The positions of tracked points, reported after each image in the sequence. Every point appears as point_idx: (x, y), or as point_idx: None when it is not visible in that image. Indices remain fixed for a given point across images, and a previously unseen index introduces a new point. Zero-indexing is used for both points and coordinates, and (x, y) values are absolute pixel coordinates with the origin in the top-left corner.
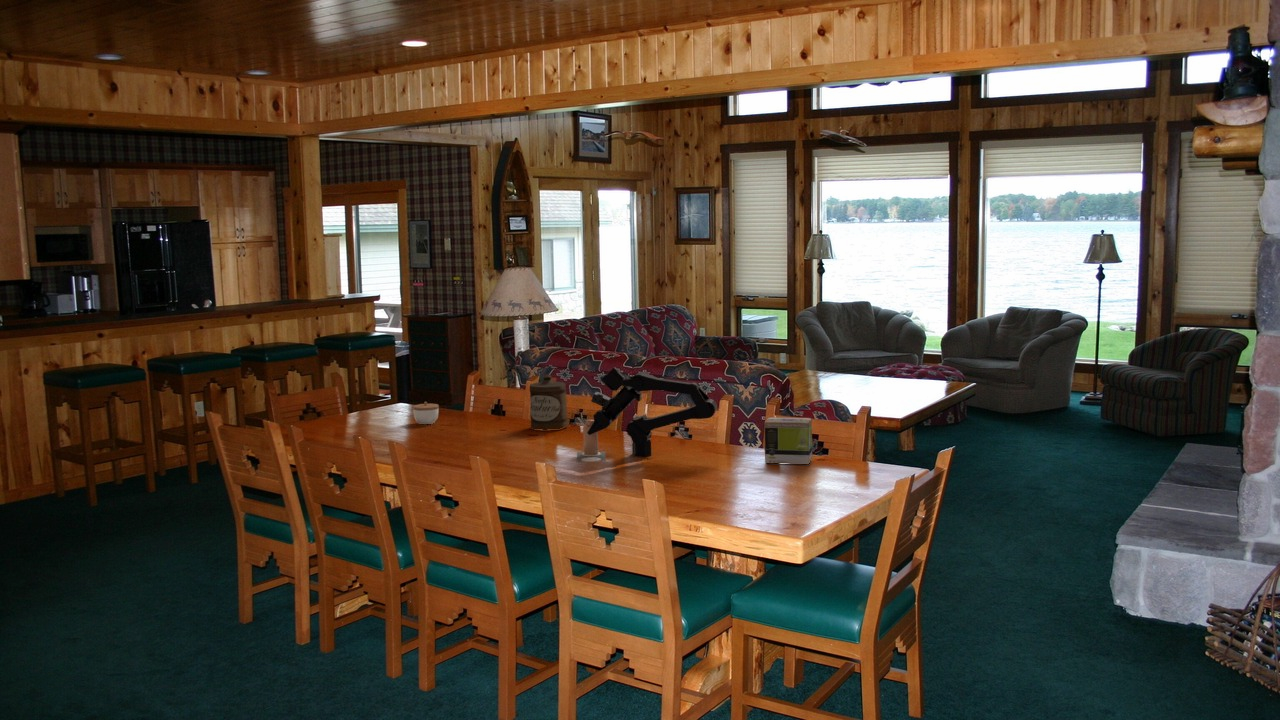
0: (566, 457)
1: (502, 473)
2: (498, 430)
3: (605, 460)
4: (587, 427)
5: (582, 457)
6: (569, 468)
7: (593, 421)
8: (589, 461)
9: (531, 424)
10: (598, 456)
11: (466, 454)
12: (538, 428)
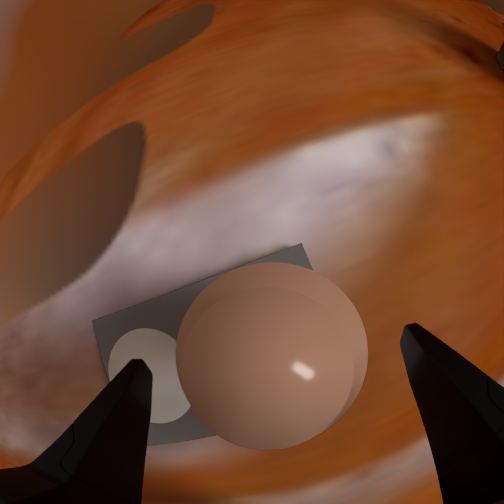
0: (233, 217)
1: (32, 149)
2: (449, 14)
3: (148, 444)
4: (177, 347)
5: (179, 321)
6: (57, 308)
7: (231, 435)
8: (109, 377)
9: (500, 48)
10: None
11: (223, 2)
12: (501, 61)
